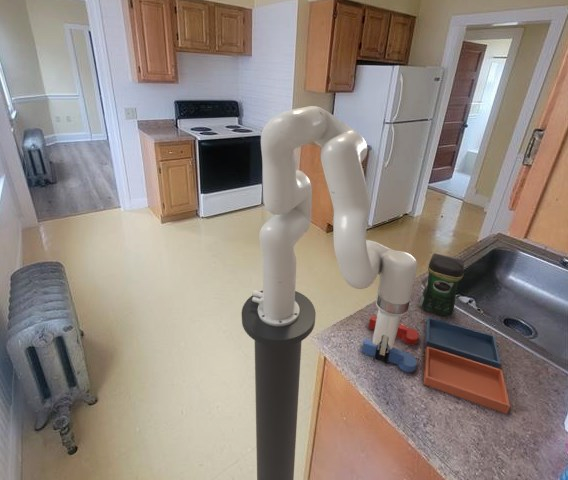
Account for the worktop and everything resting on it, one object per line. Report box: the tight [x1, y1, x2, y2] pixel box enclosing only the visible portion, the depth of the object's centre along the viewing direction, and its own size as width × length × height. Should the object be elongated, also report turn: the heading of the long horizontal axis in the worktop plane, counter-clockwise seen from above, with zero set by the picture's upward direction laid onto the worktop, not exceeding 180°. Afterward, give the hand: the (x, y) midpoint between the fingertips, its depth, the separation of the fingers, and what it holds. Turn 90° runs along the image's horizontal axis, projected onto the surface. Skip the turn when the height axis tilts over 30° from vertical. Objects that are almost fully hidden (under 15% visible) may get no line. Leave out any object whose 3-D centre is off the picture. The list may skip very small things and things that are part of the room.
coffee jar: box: [420, 252, 465, 318], centre depth 98 cm, size 10×8×19 cm
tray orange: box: [423, 346, 511, 415], centre depth 78 cm, size 17×10×2 cm, turn 66°
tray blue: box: [424, 316, 502, 369], centre depth 88 cm, size 17×10×2 cm, turn 66°
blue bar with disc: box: [361, 338, 418, 373], centre depth 83 cm, size 13×4×3 cm, turn 66°
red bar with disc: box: [368, 315, 420, 346], centre depth 91 cm, size 13×4×3 cm, turn 66°
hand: (381, 356), depth 84 cm, fingers closed on blue bar with disc
